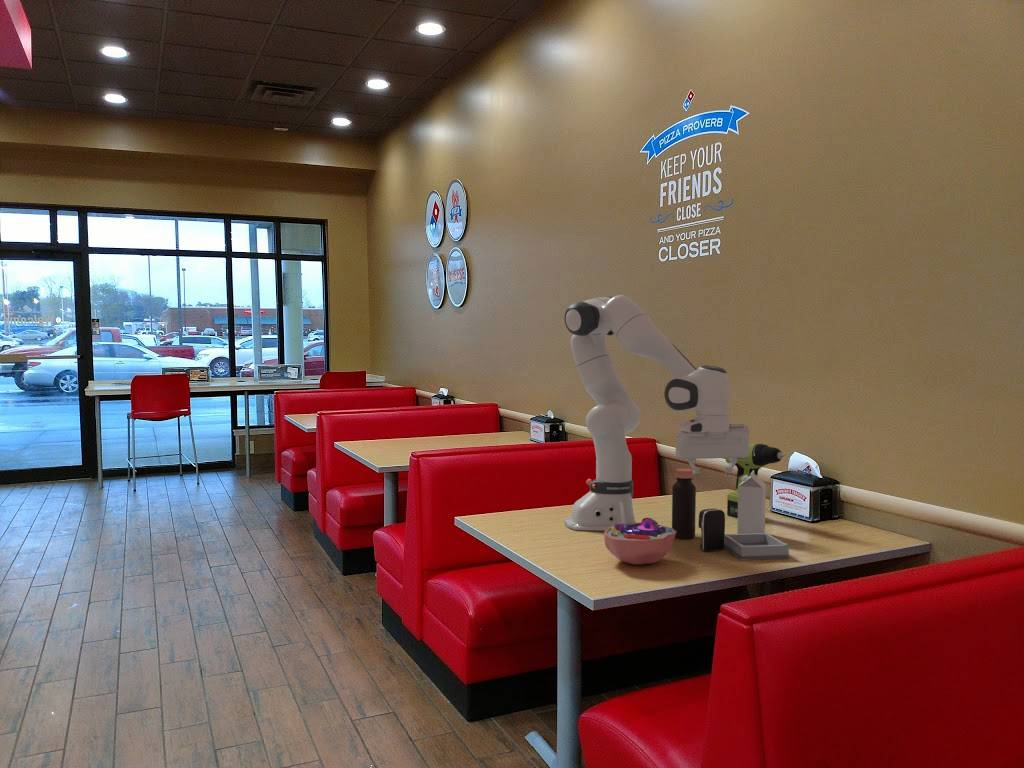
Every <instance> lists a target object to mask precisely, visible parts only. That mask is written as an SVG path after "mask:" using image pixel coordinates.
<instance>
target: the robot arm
mask: <svg viewBox="0 0 1024 768" xmlns="http://www.w3.org/2000/svg"><path fill="white" fill-rule="evenodd" d="M563 317H564V324H565V327H566V330H568V332H569V333H570V334H572V336H571V337H570V345H571V352H572V356H573V360H574V363H575V367H576V368H577V369H576V370H577V372H578V374H579V377H580V380H581V382H582V385H583V388H584V390H585V391H586V393H587V394H589V395H590V396H591V398H592V399H593V400H594V402H595V404H596V405H595V406H594V407H592V408H591V409H590V410H589V411H588V412H587V415H586V417H585V424H586V425H585V426H586V428H587V431H588V432H589V433H590V434H591V438H592V441H593V445H594V449H595V450H594V451H595V458H596V460H595V461H596V462H595V465H596V466H595V467H596V468H595V474H596V477H595V479H593V480H592V478H588V479H587V480H586V482H585V484H586V485H587V486H588V487H589V491H588V492H587V493H586V494H584V495H583V496H581V498H579V499H577V500H576V501H575V502H574V504H573V506H572V510H571V516H567V517H565V518H564V525H565V526H566V527H567V528H568V529H571V530H573V531H597V532H598V531H600V532H601V531H603V532H605V531H606V530H607V529H608V528H609V527H612V526H614V525H615V524H623V523H637V521H636V518H635V513H634V508H633V497H634V496H633V495H634V480H633V479H632V472H633V471H632V467H633V465H632V461H633V458H632V453H631V452H630V451H629V447H628V445H627V444H628V443H627V440H626V435H627V434H628V433H631V432H633V431H634V430H635V429H636V428H637V427H638V426H639V425H640V423H641V421H642V413H641V412H642V411H641V409H640V407H639V406H638V405H637V404H636V403H635V402H634V401H633V400H632V399H631V397H630V394H628V391H626V389H625V387H624V385H623V384H622V383H621V380H620V379H619V376H618V374H617V371H616V369H615V366H614V364H613V361H612V358H611V356H610V353H609V351H608V348H607V346H606V342H605V341H606V336H613V335H614V336H615V337H616V338H617V340H618V341H619V342H620V344H621V345H622V346H623V347H624V348H625V349H626V350H627V351H628V352H629V353H631V354H632V355H634V356H638V357H643V358H647V359H649V360H653V361H655V362H657V363H659V364H661V365H663V366H664V367H665V368H666V369H667V370H668V372H669V373H670V374H671V375H672V376H673V379H670V380H669V382H667V384H666V385H665V388H664V400H665V403H666V404H667V406H668V407H669V409H670V408H671V410H673V411H677V412H689V411H696V412H695V414H696V415H695V416H696V417H694V418H691V419H688V420H685V421H683V422H680V423H679V426H678V429H679V430H680V431H679V432H678V434H677V436H676V442H675V455H676V457H677V458H679V459H681V460H688V464H689V466H690V467H691V468H692V469H691V470H692V474H693V476H700V475H701V473H700V471H701V470H700V469H701V468H699V467H697V466H696V462H697V459H698V460H699V459H701V460H702V459H707V460H708V459H725V458H729V461H731V462H730V464H729V463H728V465H727V466H725V467H724V469H725V470H724V473H725V474H726V475H732V474H733V471H734V470H733V469H734V467H735V464H736V462H737V458H746V457H748V455H749V454H750V450H749V444H750V441H749V436H750V429H749V427H748V426H747V425H745V424H743V423H739V424H738V423H737V424H735V423H734V424H732V423H730V410H729V402H730V398H731V397H730V394H731V393H730V389H731V388H730V380H729V379H730V378H729V375H728V372H727V370H726V369H724V368H722V367H719V366H716V365H700V366H699V367H698V368H696V367H695V365H693V363H692V362H691V361H689V359H688V358H687V357H686V356H685V355H684V354H683V353H682V351H680V349H678V348H677V346H676V345H675V344H673V343H672V342H671V341H670V340H669V339H668V337H667V336H666V335H664V333H663V332H662V331H660V329H659V328H658V327H657V325H655V323H654V322H653V321H652V320H651V318H649V316H648V315H647V314H646V312H645V311H644V310H643V309H642V308H641V307H640V306H639V305H638V304H637V303H636V302H635V301H634V300H632V299H631V298H630V296H627V295H625V294H624V295H623V294H618V295H615V296H605V297H604V296H603V297H593V298H590V299H586V300H582V301H581V300H580V301H576V302H574V303H572V304H570V305H569V306H567V308H566V309H565V313H564V316H563Z"/></svg>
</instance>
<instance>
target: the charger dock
mask: <svg viewBox="0 0 1024 768" xmlns="http://www.w3.org/2000/svg"><path fill="white" fill-rule="evenodd" d="M789 546H790V545H789V543H785V542H783V541H781V540H780V539H778V538H776V537H774V536H773V535H771V534H769V533H768V532H765V533H750V534H737V533H726V534H724V549H725V550H727V551H728V552H730V553H731V554H733V555H734V556H736V557H737V558H739V559H740V560H741V561H747V560H748V561H749V560H750V561H751V560H752V561H754V560H755V561H756V560H781V559H789V550H790V549H789Z"/></svg>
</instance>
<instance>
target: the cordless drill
mask: <svg viewBox="0 0 1024 768" xmlns="http://www.w3.org/2000/svg"><path fill="white" fill-rule="evenodd" d="M749 450H750V454H749V455H748V457H746V458H737V462H736V464H735V465H734V467H736V468H737V472H736V484H735V490H734V491H731V492H729V493H728V494H727V503H726V505H727V510H726V512H727V513H726V515H728V516H727V517H730V516H731V517H732V518H734V517H735V519H737V518H738V486H739V485H740V484H741V483H742V482H743V481H742V480H741V478H742V477H743V476H745V475H747V476H748V477H749V476H751V473H752V471H753V470H754V474H755V475H756V476H757V477H758V473H759V471H760V470H761V468H763V467H765V466H767V465H769V464H775V463H778V462H780V461H781V460H782V459H783V458H784V457H786V456H787V455H786V454H783V453H782V451H781V449H779V448H776V447H774V446H768V444H764V443H749ZM724 460H725V462H726V463H727V464H728V465H729V464H730V462H731V461H729V458H724Z"/></svg>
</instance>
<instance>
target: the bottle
mask: <svg viewBox="0 0 1024 768" xmlns="http://www.w3.org/2000/svg"><path fill="white" fill-rule="evenodd" d="M693 477H694V475H693V474H692V469H690V468H676V469H675V479H676V481H675V483H674V484H673V485H672V487H671V489H672V492H671V493H672V494H671V495H672V497H671V498H672V500H671V528H672V529H674V530H676V535H675V538H674V539H679V540H692V539H694V538H695V537H696V511H697V510H696V506H697V503H696V501H697V500H696V499H697V497H696V496H697V495H696V493H697V488H696V485H695V484H694V483H693V482H692V480H693Z"/></svg>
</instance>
